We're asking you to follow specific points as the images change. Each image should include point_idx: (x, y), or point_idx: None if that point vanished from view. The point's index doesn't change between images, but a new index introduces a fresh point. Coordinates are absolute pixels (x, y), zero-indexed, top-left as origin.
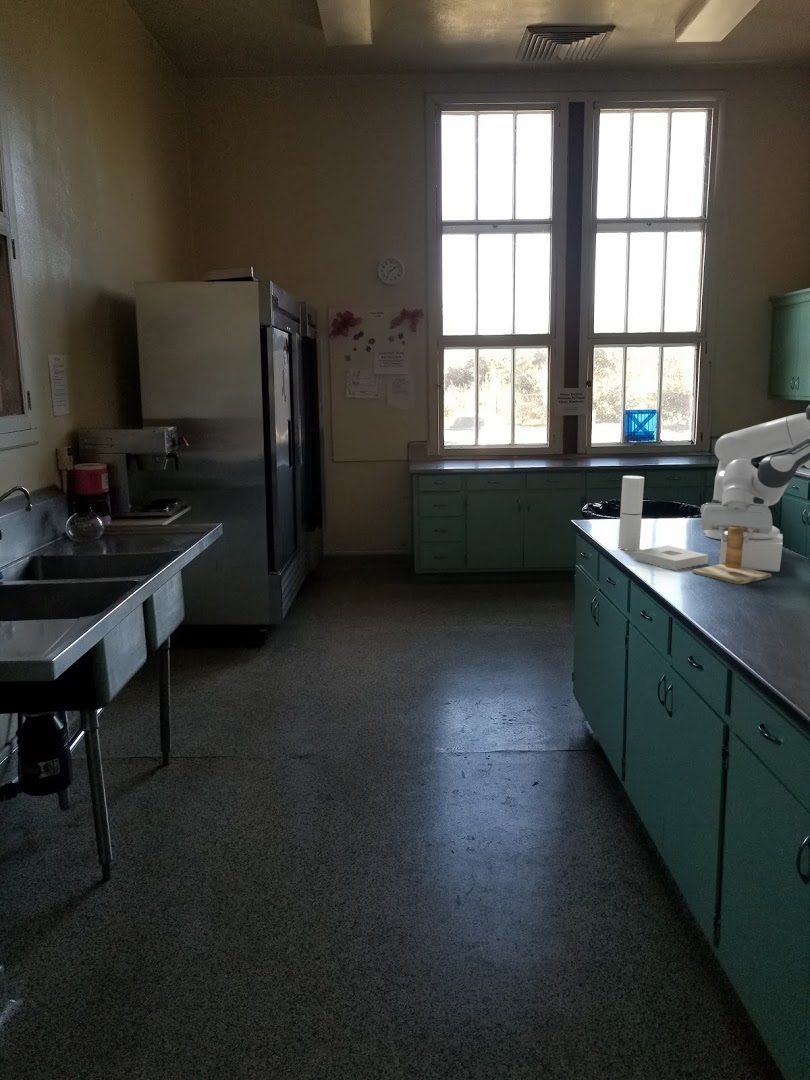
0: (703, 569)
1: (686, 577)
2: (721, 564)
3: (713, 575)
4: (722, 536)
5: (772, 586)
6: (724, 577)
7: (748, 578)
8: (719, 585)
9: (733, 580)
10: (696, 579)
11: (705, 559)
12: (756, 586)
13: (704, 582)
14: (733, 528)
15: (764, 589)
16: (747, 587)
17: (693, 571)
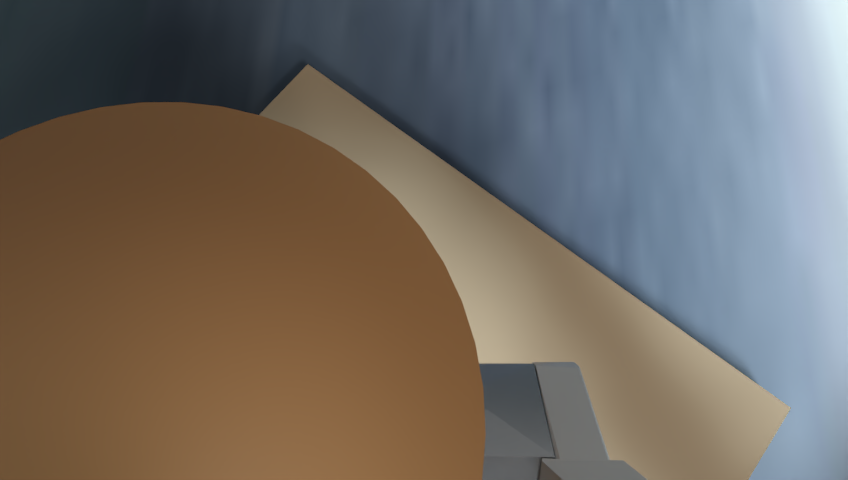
0: (672, 470)
1: (795, 192)
2: None
3: (547, 237)
4: (591, 407)
5: (4, 124)
6: (438, 164)
7: None
8: (483, 9)
9: (356, 99)
10: (694, 148)
11: None
12: (157, 77)
13: (614, 65)
14: (270, 220)
15: (108, 2)
16: (246, 20)
17: (769, 399)
